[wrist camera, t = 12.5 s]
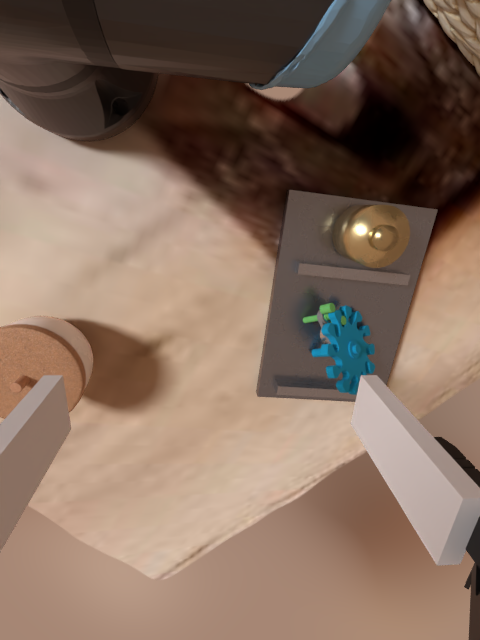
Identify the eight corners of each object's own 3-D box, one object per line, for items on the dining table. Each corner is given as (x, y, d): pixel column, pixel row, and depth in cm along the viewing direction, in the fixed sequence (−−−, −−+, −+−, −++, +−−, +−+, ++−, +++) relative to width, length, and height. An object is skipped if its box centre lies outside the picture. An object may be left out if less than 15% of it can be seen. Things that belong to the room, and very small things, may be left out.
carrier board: (286, 190, 36) (306, 186, 29) (431, 209, 38) (480, 210, 31) (256, 391, 44) (265, 426, 37) (376, 398, 46) (406, 432, 39)
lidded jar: (68, 287, 37) (25, 312, 29) (123, 361, 41) (99, 405, 32) (-11, 330, 38) (-77, 369, 29) (50, 400, 42) (7, 453, 33)
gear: (388, 363, 41) (356, 415, 34) (345, 365, 45) (310, 412, 39) (356, 282, 39) (315, 321, 32) (314, 293, 43) (271, 329, 37)
